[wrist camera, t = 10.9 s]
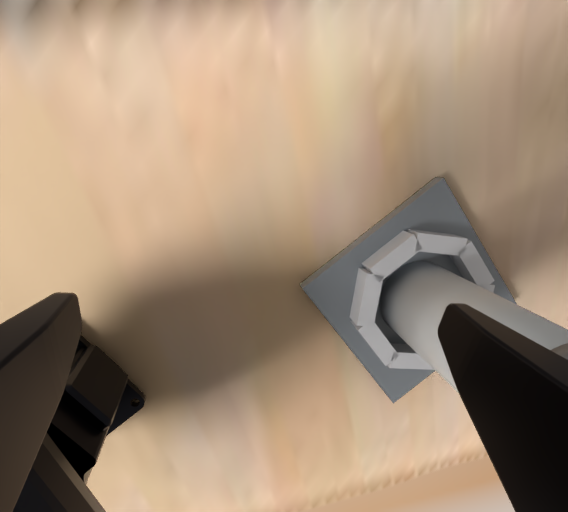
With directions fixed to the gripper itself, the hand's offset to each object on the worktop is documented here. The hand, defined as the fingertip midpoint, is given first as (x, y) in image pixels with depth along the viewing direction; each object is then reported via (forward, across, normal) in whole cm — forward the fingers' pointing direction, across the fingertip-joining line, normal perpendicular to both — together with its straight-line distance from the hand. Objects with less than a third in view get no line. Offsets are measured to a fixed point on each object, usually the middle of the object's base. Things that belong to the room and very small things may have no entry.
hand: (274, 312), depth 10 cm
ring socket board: (+11, -10, +7) cm, 17 cm away
